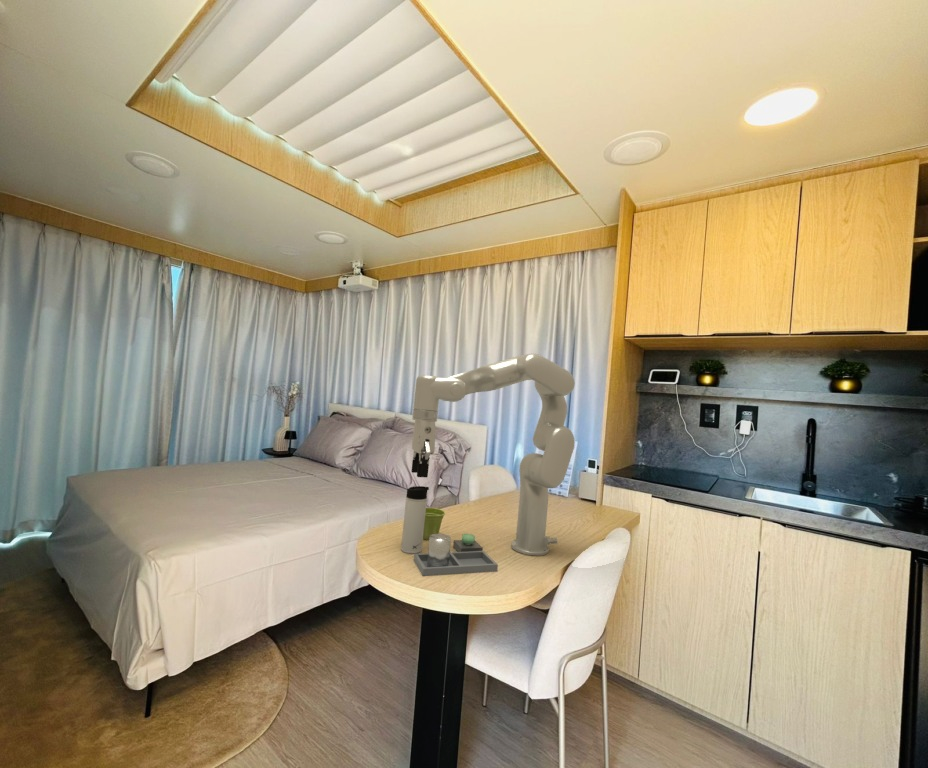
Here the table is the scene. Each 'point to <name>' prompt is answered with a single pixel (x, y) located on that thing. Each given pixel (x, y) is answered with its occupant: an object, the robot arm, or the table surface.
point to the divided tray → (458, 564)
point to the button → (468, 539)
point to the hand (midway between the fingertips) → (419, 474)
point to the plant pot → (432, 522)
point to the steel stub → (438, 550)
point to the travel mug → (414, 520)
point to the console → (466, 546)
